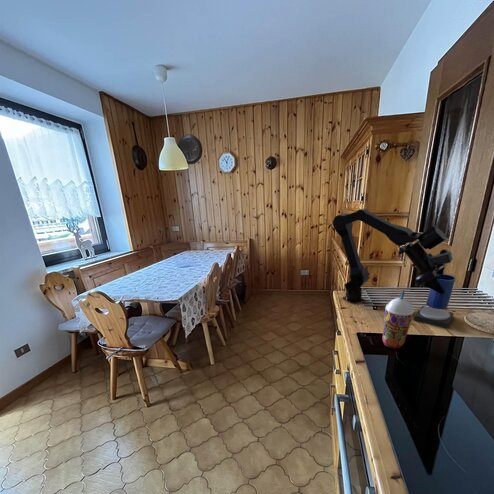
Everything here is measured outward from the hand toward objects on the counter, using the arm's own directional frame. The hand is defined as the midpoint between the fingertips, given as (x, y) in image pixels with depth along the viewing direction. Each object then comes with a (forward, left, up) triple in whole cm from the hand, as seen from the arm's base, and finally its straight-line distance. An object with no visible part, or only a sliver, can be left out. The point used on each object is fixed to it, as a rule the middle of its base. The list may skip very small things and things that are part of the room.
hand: (445, 290), depth 105 cm
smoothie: (+4, -29, -13) cm, 32 cm away
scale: (-1, -1, -12) cm, 13 cm away
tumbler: (-1, -1, -7) cm, 7 cm away
